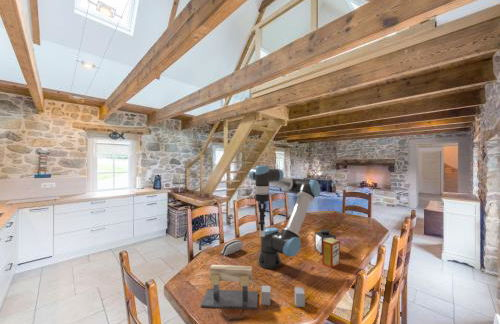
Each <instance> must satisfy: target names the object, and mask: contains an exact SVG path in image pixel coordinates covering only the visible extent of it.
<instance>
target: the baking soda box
mask: <svg viewBox="0 0 500 324" xmlns="http://www.w3.org/2000/svg"><path fill="white" fill-rule="evenodd" d="M340 260H341V240H338V239H337V238H336V239H332V238H330V239H327V240H324V241H323V255H322V265H323V266H325V267H327V266H328V268H329V267H330V268H329V269H334V268H336V267H338V266H340V265H341V261H340ZM339 264H340V265H339ZM337 265H338V266H337ZM335 266H336V267H335ZM333 267H334V268H333Z"/></svg>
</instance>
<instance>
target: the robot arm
mask: <svg viewBox="0 0 500 324" xmlns="http://www.w3.org/2000/svg"><path fill="white" fill-rule="evenodd" d="M284 176H285V175H284V171H283V170H282V169H280V168H270V166H269V165H256V166H255V168H251V169H250V170H249V173H248V177H249V179H250V180H252V181H255V187H253V188H254V190H255V195H254V196H255V199H254V200H255V201H256V202H259V203H258V212H259V222H258V223H257V225H259V231H258V232H259V235H258V237H260V253H259V256H258V260H257V263H258V265H259V267H261V268H263V269H268V270H269V269H270V270H273V269H278V268H280V266H282V259H281V256H280V254H282V255H284V256H288V257H291V258H292V257H294V256H296V255H297V254H298V253H299V252H300V249H301V247H302V245H301V244H302V241H301V239H300V238H301V237H300V234H299V233H300V230H301V227H302V225H303V223H304V220H305V217H306V214H307V211H308V209H309V207H310V203H311V202H313V201H314V199H315V198H316V197H319V196H320V192H321V186H320V183H319V181H318V180H316V179H312V178H309V179H308V178H292V177H291V178H290V177H284ZM270 185H272V186H275V187H277V188H281V189H283V191H286V192H290V193H291V194H295V195H297V196H298V197H297V199H296V202H295V204H294V207H293V209H292V210H291V213H290V215H289V219H288V221H287V224H286V227H284V228H282V229H281V231H280V230H279V228H277V227H266V225H265V218H266V214H265V213H266V209H267V208H266V207H267V204H266V203H265V202H269V200H270V194H269V193H270ZM265 227H266V228H265Z"/></svg>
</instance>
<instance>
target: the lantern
mask: <svg viewBox="0 0 500 324" xmlns="http://www.w3.org/2000/svg"><path fill="white" fill-rule="evenodd" d="M325 217H326V218H325ZM322 218H323V221H324V219H326V220H328V217H327V216H326V214H324V216H323V217H322ZM330 238H332V239H336V240H337V238H336V235H334V234H332V233H330V230H329V229H328V228H321V229H320V230H319V231H317V232H316V231H315V232H314V250H315V249H316V250H315V251H317V250H318V251H319V252H320V253H321V254H320V253H319V252H318V251H317V252H318V253H319V254H320V255H322V256H323V241H324V240H327V239H330Z"/></svg>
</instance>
